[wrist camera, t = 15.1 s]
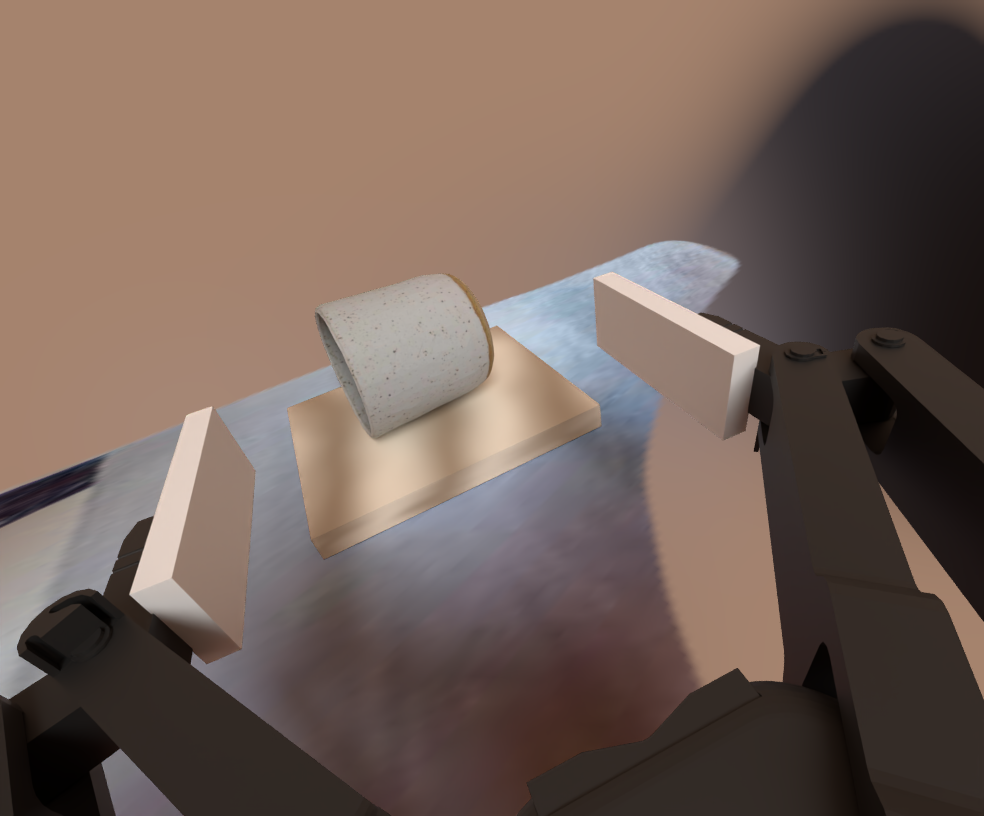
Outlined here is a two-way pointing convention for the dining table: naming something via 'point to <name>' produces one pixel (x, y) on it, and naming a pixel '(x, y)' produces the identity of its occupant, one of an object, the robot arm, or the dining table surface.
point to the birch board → (430, 446)
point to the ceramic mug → (406, 348)
